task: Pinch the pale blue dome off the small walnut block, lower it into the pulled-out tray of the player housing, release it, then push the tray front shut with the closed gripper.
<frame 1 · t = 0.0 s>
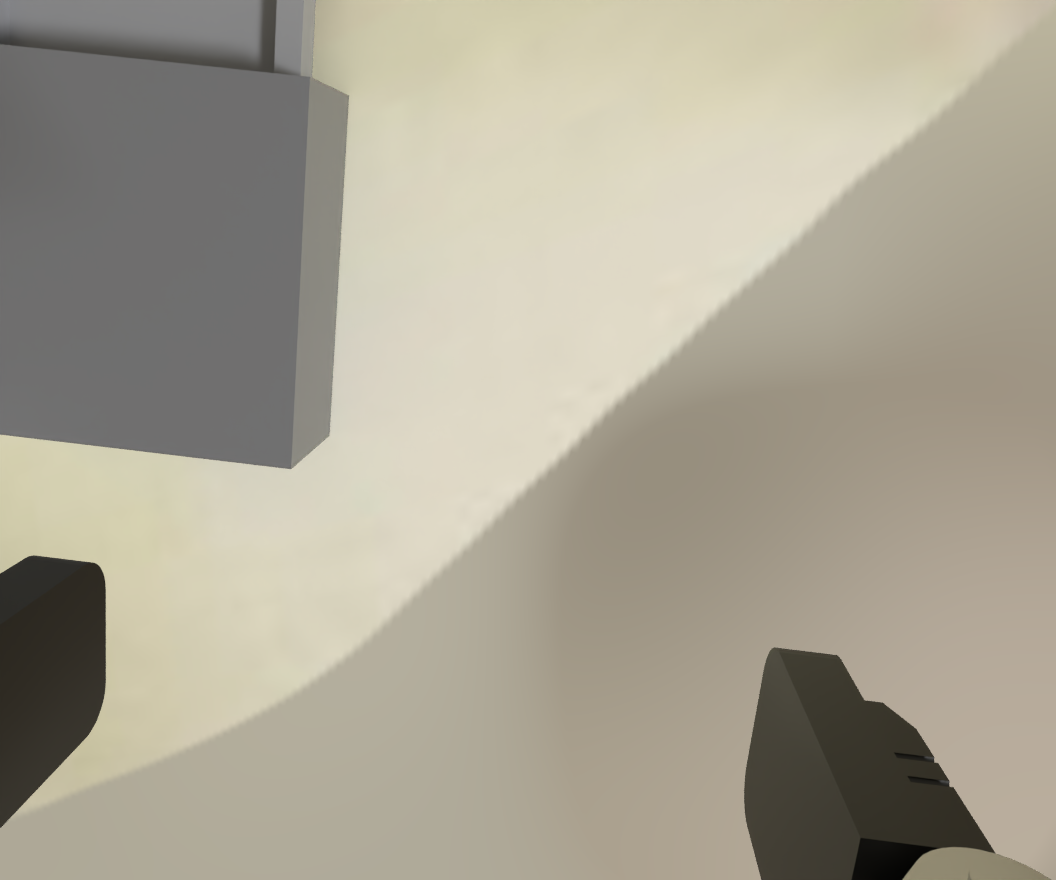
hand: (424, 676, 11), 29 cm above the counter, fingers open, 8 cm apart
housing: (161, 253, 40), on the counter
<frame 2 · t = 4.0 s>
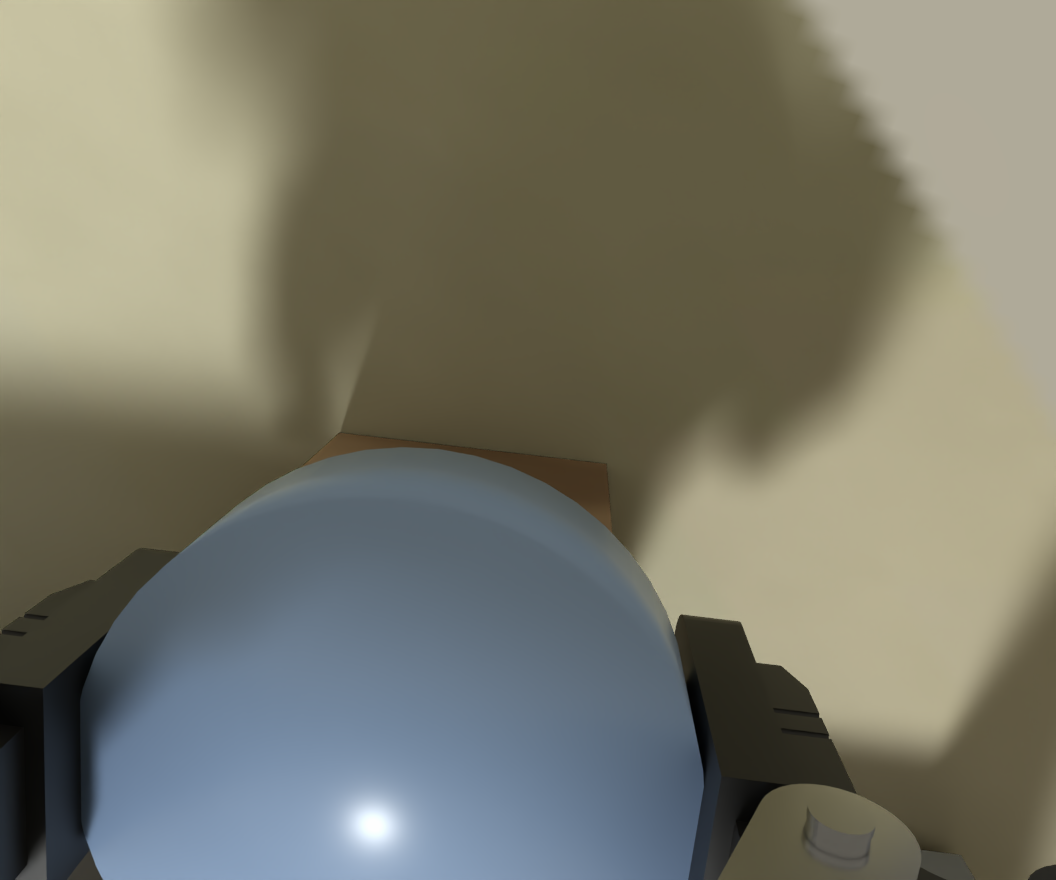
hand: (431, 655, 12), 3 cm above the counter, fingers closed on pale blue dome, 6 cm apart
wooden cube: (460, 573, 15), on the counter
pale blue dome: (417, 705, 11), point 4 cm above the counter, touching gripper, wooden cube
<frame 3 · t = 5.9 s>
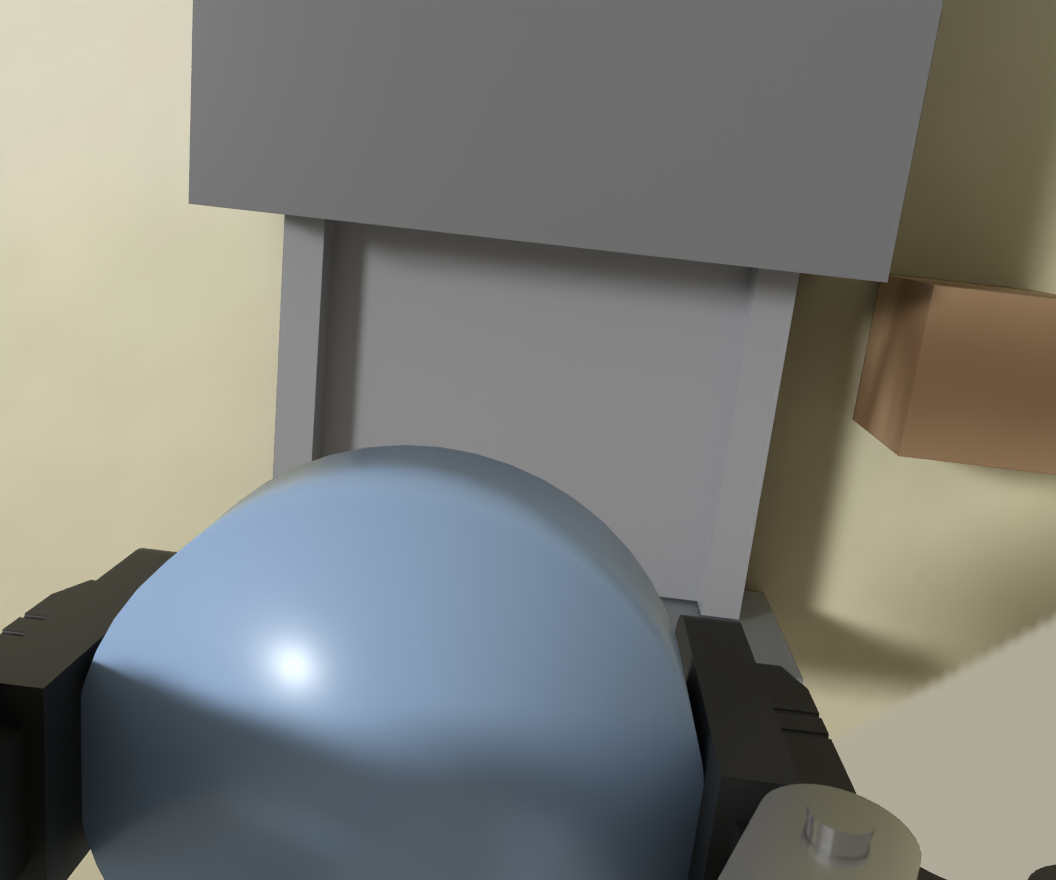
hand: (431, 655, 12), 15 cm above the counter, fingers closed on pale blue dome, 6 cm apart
tray: (525, 371, 24), point 3 cm above the counter, slide at 9.0 cm
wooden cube: (941, 356, 26), on the counter
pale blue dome: (417, 703, 11), point 17 cm above the counter, touching gripper
when the fingers open (3 cm above the counter, at t = 8.3 s): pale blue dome drops 2 cm, resting on tray.
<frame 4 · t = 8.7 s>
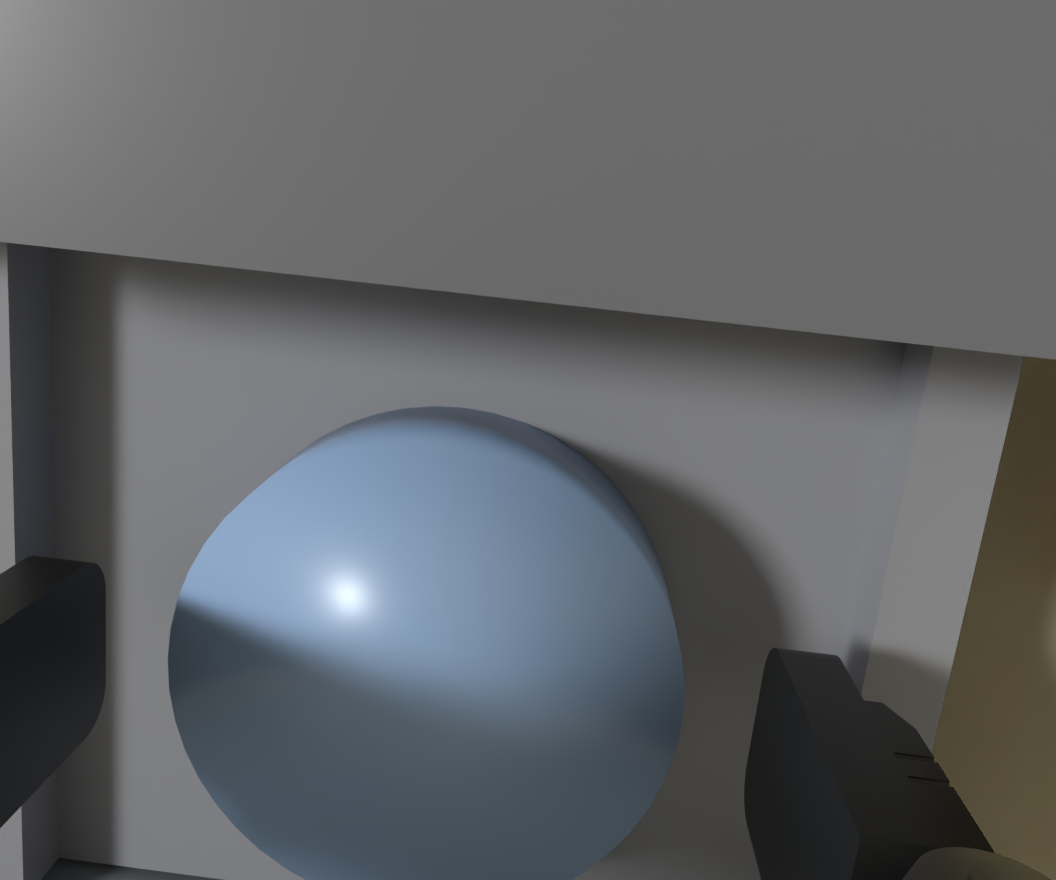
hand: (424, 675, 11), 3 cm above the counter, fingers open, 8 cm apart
tray: (438, 545, 11), point 3 cm above the counter, slide at 9.0 cm, touching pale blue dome
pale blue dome: (444, 625, 13), point 2 cm above the counter, touching tray
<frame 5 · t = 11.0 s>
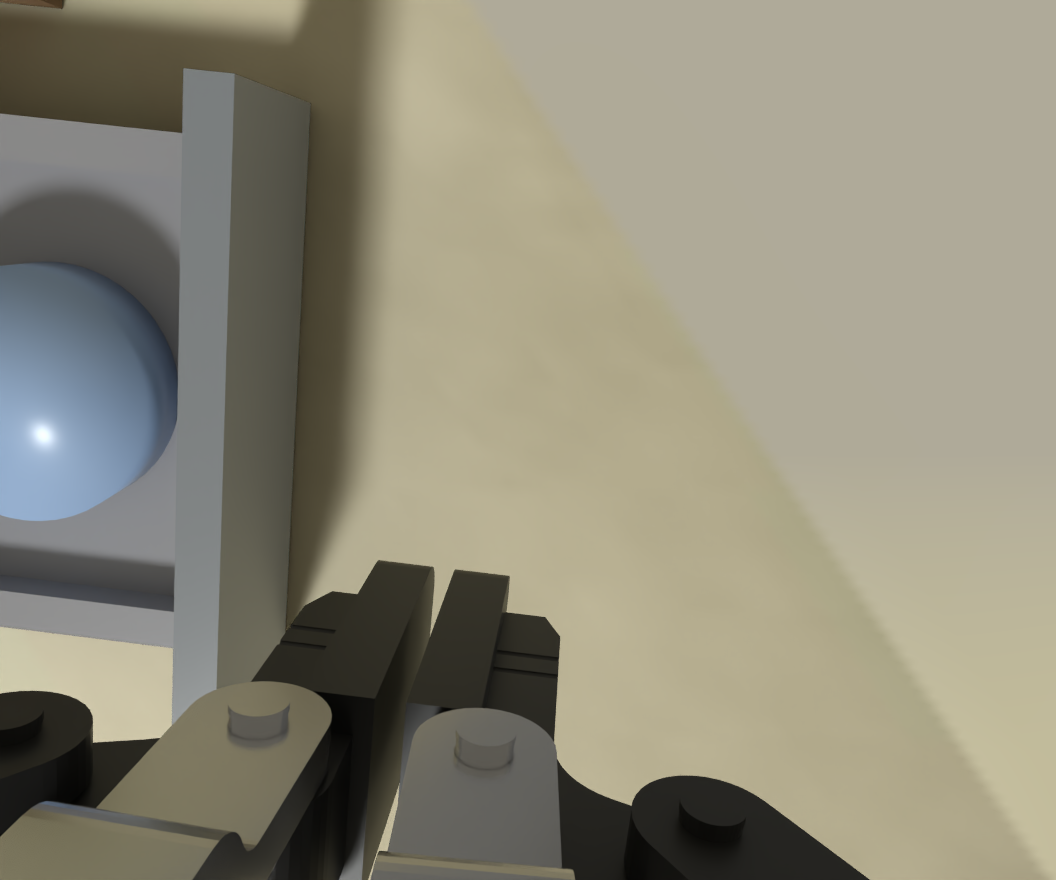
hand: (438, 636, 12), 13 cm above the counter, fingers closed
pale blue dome: (61, 383, 24), point 2 cm above the counter, touching tray
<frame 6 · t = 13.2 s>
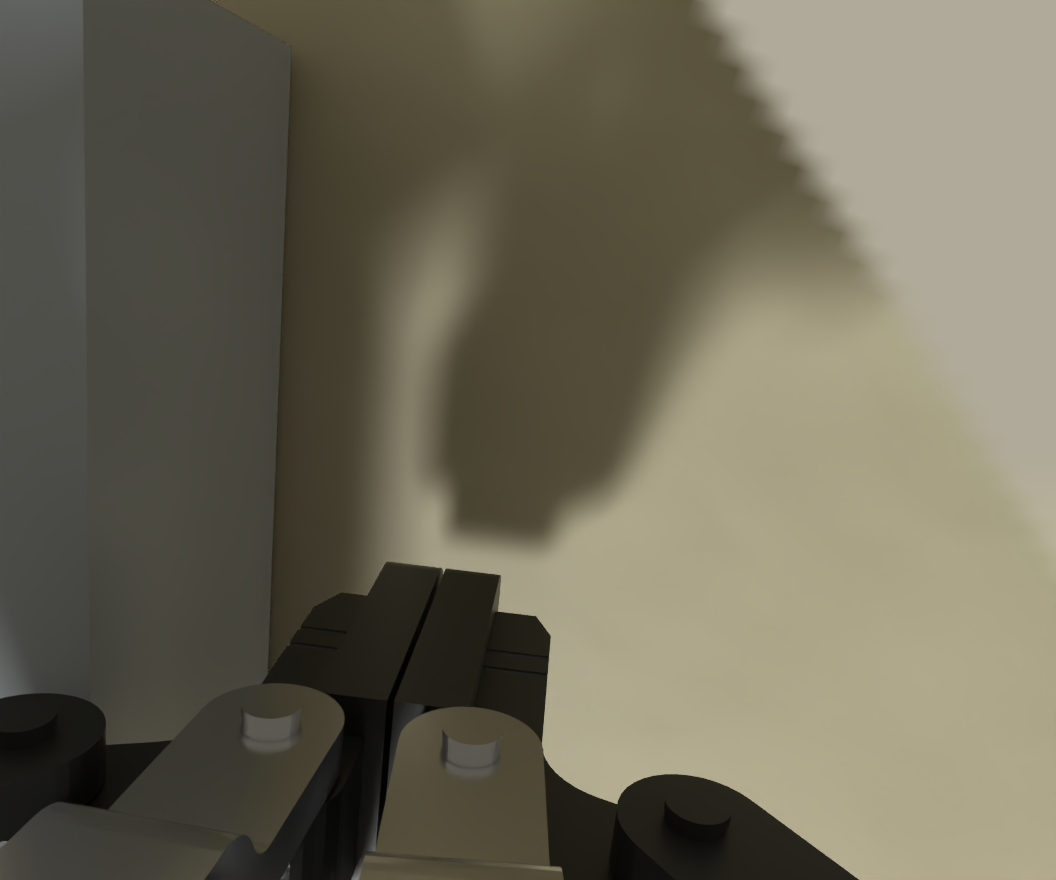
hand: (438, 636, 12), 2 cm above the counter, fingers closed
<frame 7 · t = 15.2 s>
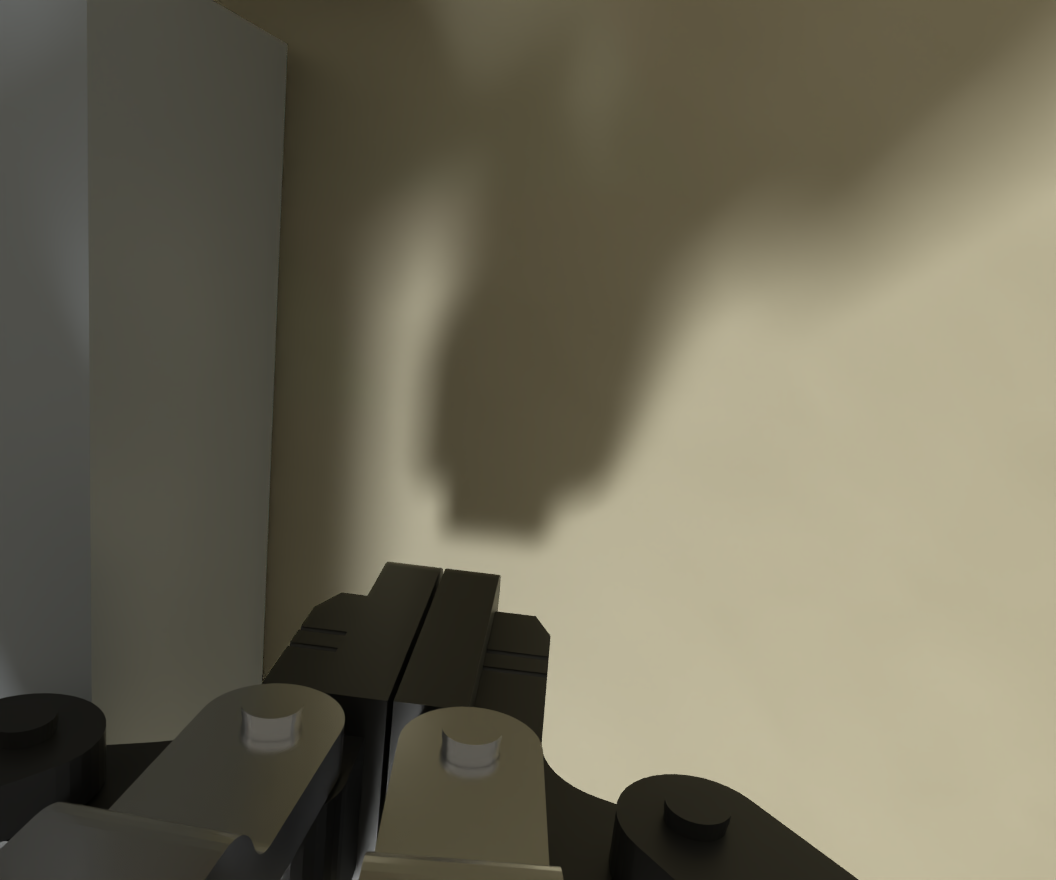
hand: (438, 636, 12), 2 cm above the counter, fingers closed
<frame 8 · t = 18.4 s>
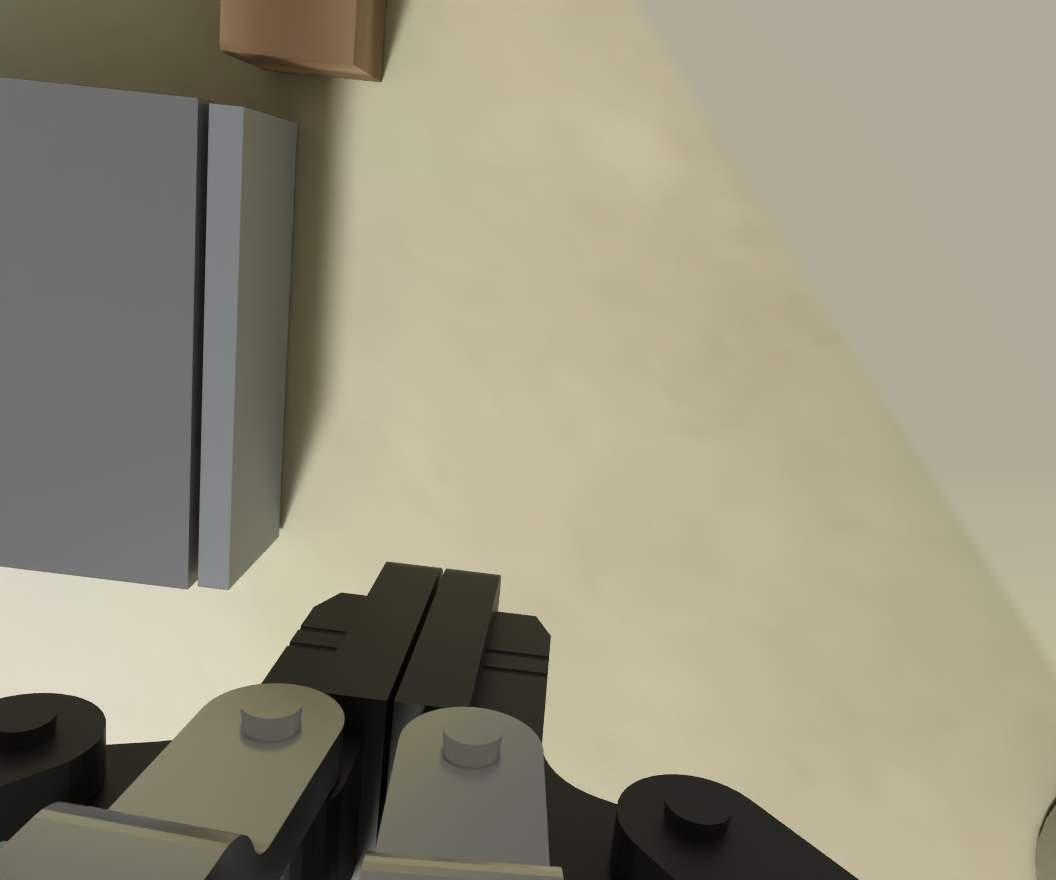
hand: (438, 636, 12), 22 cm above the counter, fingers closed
tray: (54, 327, 32), point 3 cm above the counter, slide at 0.0 cm, touching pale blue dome
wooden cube: (325, 11, 31), on the counter
housing: (63, 314, 34), on the counter
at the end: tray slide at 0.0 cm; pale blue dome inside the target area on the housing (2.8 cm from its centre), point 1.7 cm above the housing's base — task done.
